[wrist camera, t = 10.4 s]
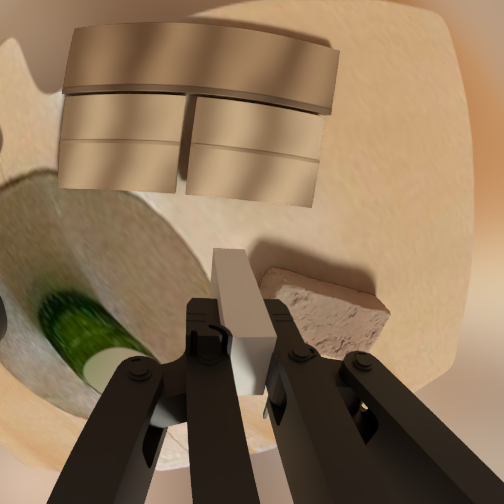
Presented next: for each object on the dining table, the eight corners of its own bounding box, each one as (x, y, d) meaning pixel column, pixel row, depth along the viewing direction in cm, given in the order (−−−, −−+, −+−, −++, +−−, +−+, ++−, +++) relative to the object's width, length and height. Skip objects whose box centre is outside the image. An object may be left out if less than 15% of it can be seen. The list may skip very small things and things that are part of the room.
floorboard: (68, 94, 22) (61, 93, 21) (79, 32, 20) (74, 28, 18) (325, 115, 27) (330, 115, 26) (334, 53, 24) (340, 50, 23)
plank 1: (63, 186, 25) (57, 188, 24) (70, 98, 22) (65, 96, 21) (175, 191, 27) (174, 193, 26) (186, 98, 25) (186, 95, 23)
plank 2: (186, 192, 27) (185, 194, 26) (197, 99, 25) (197, 96, 24) (307, 205, 30) (312, 208, 29) (320, 118, 27) (325, 117, 26)
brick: (241, 321, 36) (246, 346, 32) (268, 261, 33) (277, 282, 29) (348, 342, 40) (361, 363, 36) (378, 294, 38) (395, 314, 33)
